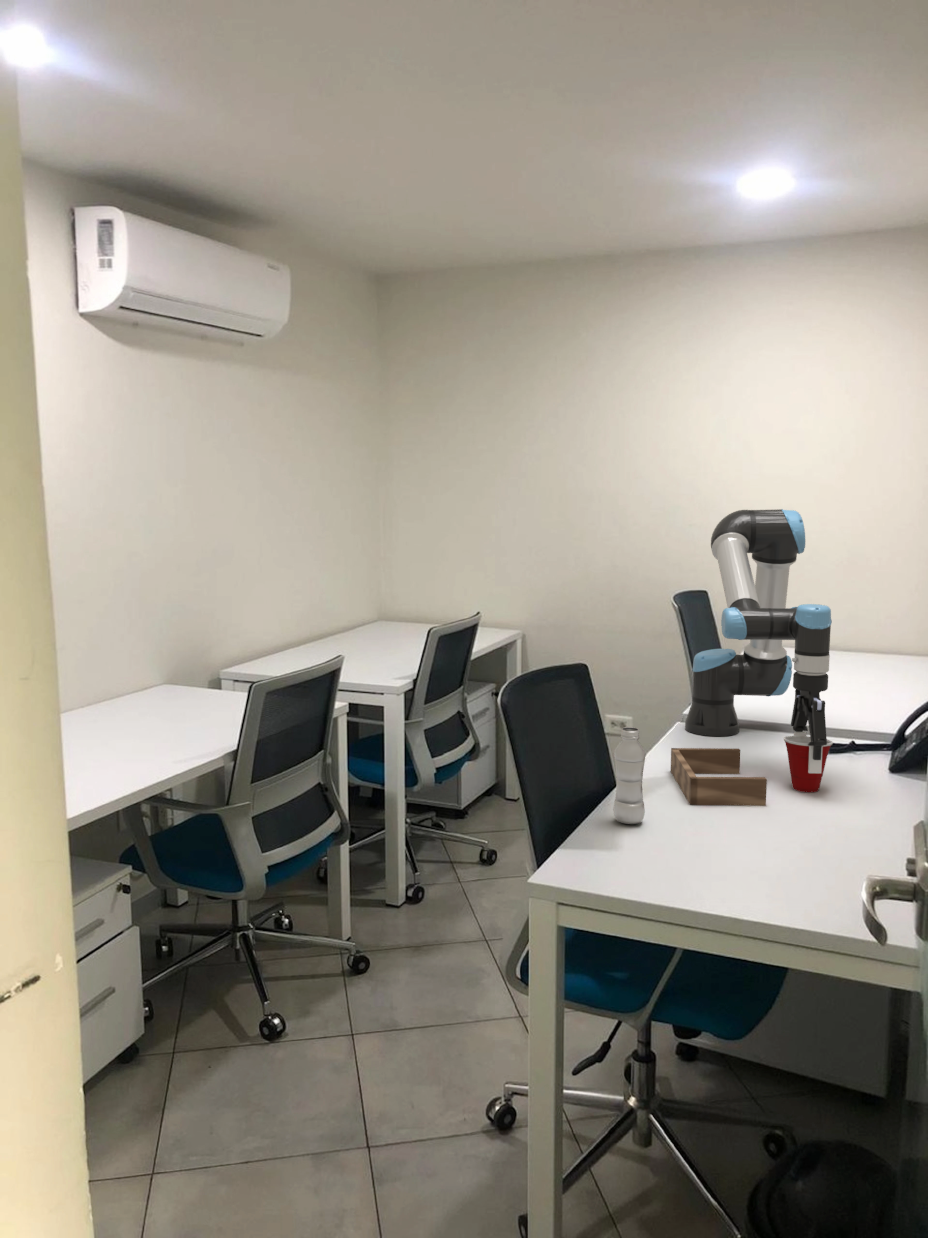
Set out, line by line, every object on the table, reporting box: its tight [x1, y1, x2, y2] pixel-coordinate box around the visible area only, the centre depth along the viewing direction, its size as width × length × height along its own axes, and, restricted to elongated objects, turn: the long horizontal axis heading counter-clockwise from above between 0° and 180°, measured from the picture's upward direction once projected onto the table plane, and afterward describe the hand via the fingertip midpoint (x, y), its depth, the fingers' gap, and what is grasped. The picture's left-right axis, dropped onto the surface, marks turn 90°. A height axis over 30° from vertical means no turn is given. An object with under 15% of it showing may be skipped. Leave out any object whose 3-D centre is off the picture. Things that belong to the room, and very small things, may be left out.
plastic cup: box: [782, 735, 834, 793], centre depth 220 cm, size 11×11×12 cm
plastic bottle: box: [612, 726, 646, 825], centre depth 198 cm, size 6×7×20 cm
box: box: [670, 747, 768, 807], centre depth 221 cm, size 25×16×6 cm, turn 178°
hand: (806, 765), depth 220 cm, fingers closed on plastic cup, 11 cm apart
